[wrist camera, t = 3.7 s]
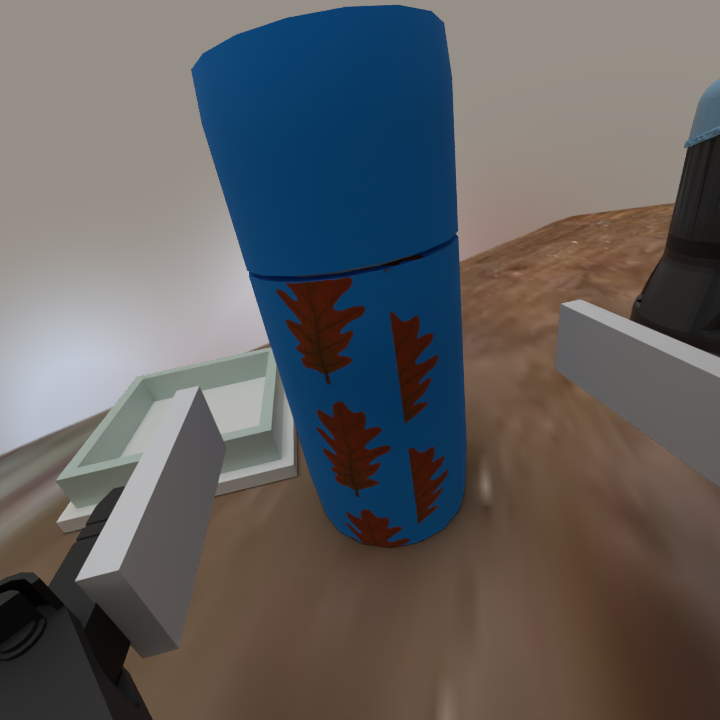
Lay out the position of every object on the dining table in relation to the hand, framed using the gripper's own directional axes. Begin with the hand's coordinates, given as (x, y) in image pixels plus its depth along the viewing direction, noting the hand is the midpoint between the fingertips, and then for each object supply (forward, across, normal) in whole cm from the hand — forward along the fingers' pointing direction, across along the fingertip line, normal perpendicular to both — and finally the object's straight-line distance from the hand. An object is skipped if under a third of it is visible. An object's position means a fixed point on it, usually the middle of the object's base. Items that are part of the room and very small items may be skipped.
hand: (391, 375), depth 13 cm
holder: (+20, -16, -14) cm, 29 cm away
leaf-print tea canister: (+8, 0, -14) cm, 16 cm away
